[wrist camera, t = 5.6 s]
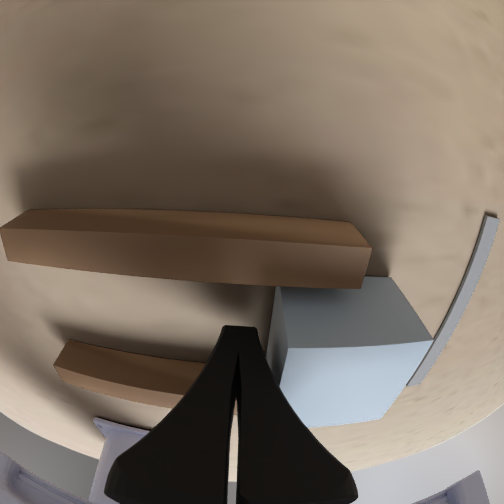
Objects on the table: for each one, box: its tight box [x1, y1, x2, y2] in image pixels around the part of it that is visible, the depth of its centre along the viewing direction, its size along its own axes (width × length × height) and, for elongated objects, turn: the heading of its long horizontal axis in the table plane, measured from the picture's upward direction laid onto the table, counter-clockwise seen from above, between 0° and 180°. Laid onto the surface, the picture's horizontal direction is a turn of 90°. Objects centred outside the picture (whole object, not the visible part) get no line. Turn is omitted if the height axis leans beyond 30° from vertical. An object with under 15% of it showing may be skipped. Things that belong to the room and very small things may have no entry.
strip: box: [406, 215, 500, 387], centre depth 12 cm, size 12×1×1 cm, turn 176°
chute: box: [0, 209, 372, 415], centre depth 11 cm, size 10×14×2 cm
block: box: [266, 276, 434, 428], centre depth 10 cm, size 5×5×4 cm
